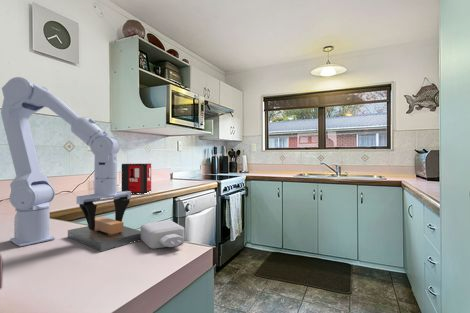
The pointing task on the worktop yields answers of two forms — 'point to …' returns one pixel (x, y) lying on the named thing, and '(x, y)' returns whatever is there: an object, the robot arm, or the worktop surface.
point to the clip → (108, 226)
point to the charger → (162, 234)
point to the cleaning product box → (136, 178)
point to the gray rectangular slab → (104, 237)
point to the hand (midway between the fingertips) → (105, 226)
